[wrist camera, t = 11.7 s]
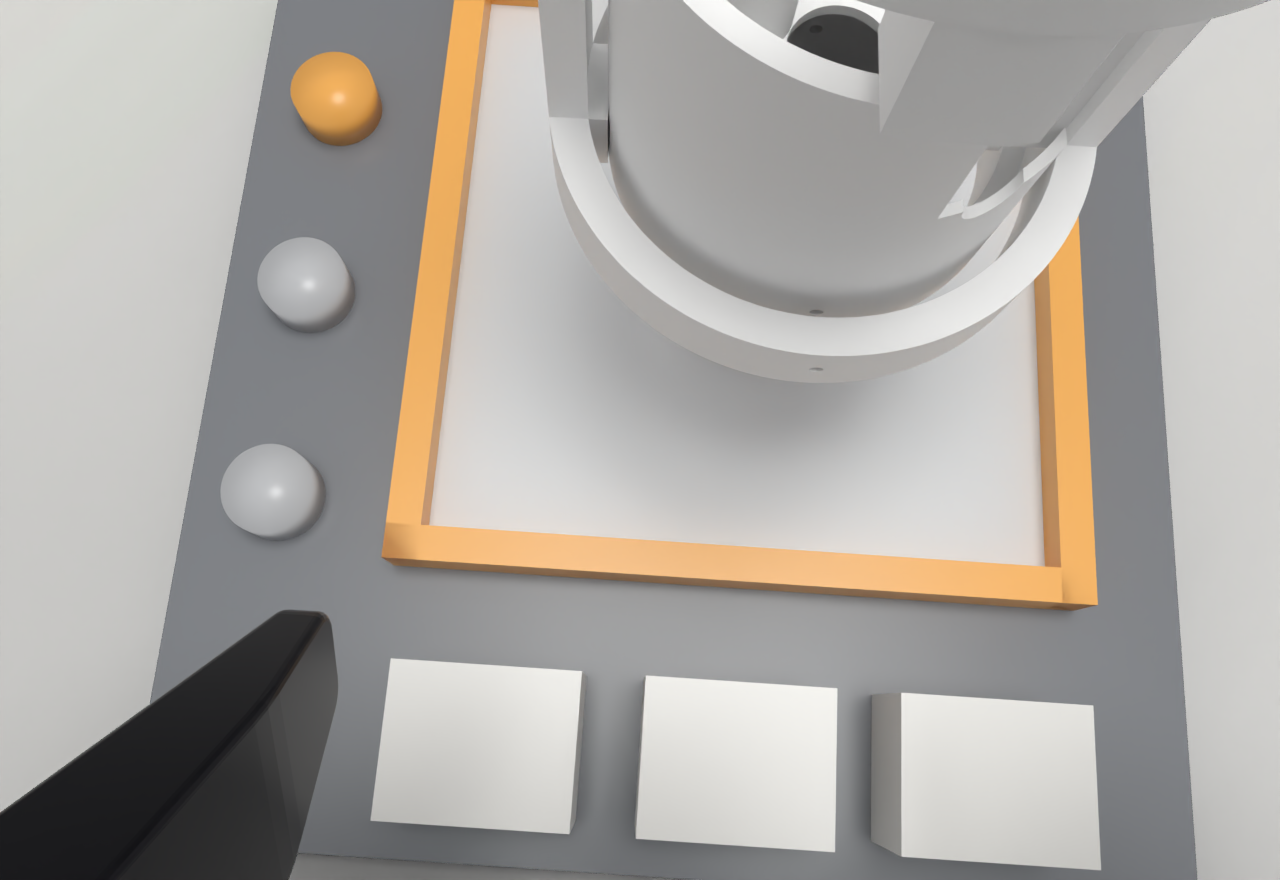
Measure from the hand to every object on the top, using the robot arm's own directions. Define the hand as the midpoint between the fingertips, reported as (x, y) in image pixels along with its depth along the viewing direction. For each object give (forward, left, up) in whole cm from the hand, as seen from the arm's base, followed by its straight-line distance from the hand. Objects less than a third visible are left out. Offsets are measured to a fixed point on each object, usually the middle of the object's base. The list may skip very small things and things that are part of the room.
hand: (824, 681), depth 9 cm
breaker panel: (+6, -2, -10) cm, 12 cm away
